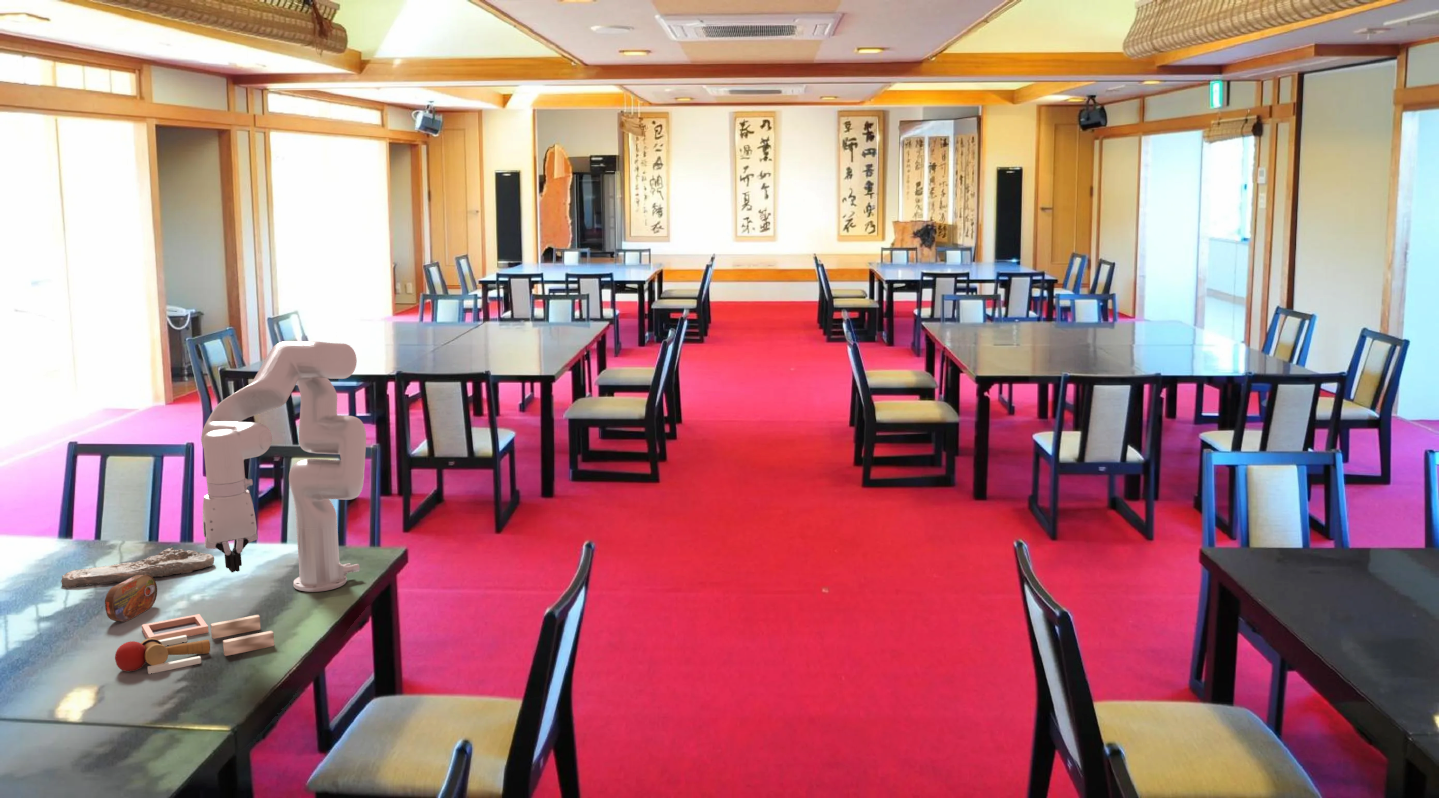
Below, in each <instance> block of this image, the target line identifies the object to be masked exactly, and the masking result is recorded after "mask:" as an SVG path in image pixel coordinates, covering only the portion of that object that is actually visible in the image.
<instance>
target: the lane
mask: <svg viewBox="0 0 1439 798" xmlns="http://www.w3.org/2000/svg"><path fill="white" fill-rule="evenodd" d="M260 617H261V616H260V615H259V614H254V615H249V616H245V617H239V618H234V619H229V620H228V619H227V620H223V621H219V622H213V623H210V632H211V634H210V635H211V638H212V640H215V639H220V638H223V637H229V636H230V637H231V636H235V635H238V634H240V635H241V634H245V633H250V632H254V631H255V632H256V631H260V630H262V629H261V628H262V627H261V618H260ZM274 637H275V636H274V631H273V630H267V631H263V632H259V633H258V632H257V633H252V634H247V635H242V636H238V637H234V638H233V637H232V638H228V639H224V640H222V648H223V655H224V656H225V657H228V656H231V655H239V654H242V653H246V652H251V651H256V650H261V649H265V648H271V647H275V638H274Z"/></svg>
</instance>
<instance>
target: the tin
mask: <svg viewBox="0 0 1439 798" xmlns="http://www.w3.org/2000/svg"><path fill="white" fill-rule="evenodd" d="M157 596H158V586H157V582H156V580H155V577H152V576H150V575H136V576H134V577H132V578H130V579H128V580H126V581H124V582H119V583H118V584H115V585H114V586H112V587H111V588H110V589H109V590H108V591H107V594H106V595H105V599H104V608H105V611H106V612H105V613H106V615H107V617H108V618H109V620H111V621H115V622H122V623H125V622H128V621H130V620H133V618H136V617H137V616H139V615H141V614H143V613H145V612H146V611H148V610H150V609H151V608H152V607H153V606H154V604H155V602H156V600H157Z"/></svg>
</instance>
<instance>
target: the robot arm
mask: <svg viewBox="0 0 1439 798" xmlns="http://www.w3.org/2000/svg"><path fill="white" fill-rule="evenodd" d="M356 367H357V354H356V352H355V349H354V348H353V347H352V346H351V345H349V344H348V343H341V342H340V343H337V342H335V343H334V342H323V341H309V340H306V341H303V340H285V341H280V342H278V343H276V344H275V345H273V347H271V349H270V351H269V353H268V354H267V356H266V358H265V359H264V361H263V362H262V364H261V366H260V368H259V369H258V371H257V373H256V374H255V376H254V378H253V380H252V381H251V383H249V384H248V385H246V386H244V387H242V388H240V389H238V390H236V392H233V393H232V394H230V395H229V396H227V397H226V398H224V399H223V400H221V401H220V402H219V403H218V404H217V405H216V406H215V407H214V408H213V410H212V411H211V413H210V415H209V417H208V418H207V420H206V422H205V424H204V427H203V429H202V432H201V438H200V440H201V446H202V447H203V453H204V455H203V457H204V467H205V468H204V469H205V477H206V478H205V479H206V486H207V487H206V488H207V489H206V490H207V494H205V495H203V502H202V531H203V536H204V544H203V546H204V547H205V548H206V549H207V550H208V549H209V550H211V549H212V550H213V549H215V550H218V551H220V552H221V553H223V554H224V563H225V568H226V569H228V570H229V571H230V572H231V573H235V572H238V573H239V572H240V570H241V569H240V567H241V566H242V565H243V564H242V553H243V550H244V549H245V547H246V546H248V544H250V543H252V542H254V541H257V540H258V539H259V536H258V534H257V532H258V531H257V530H258V528H257V520H256V514H255V509H254V504H253V503H254V502H253V499H252V496H251V493H250V490H248V487H250V486H253V485H254V484H253V483H254V482H253V479H252V478H246V475H245V462H244V461H245V460H248V459H251V458H256V457H260V456H262V455H264V454H265V453H266V452H267V451H268V450H269V449H270V447H271V446H272V441H273V435H272V432H271V430H270V428H269V427H268V426H267V425H265V424H264V423H261V422H254V421H244V420H247V419H248V418H250V417H251V418H252V417H254V416H257V415H262V414H266V413H268V412H271V411H273V410H276V409H278V408H280V407H283V406H284V405H285V404H286V403H287V401H288V400H289V397H290V396H291V394H292V393H293V391H294V389H295V387H296V385H297V387H298V390H299V393H300V411H299V422H298V423H299V426H298V443H299V446H300V448H301V450H303V451H304V452H307V453H310V454H321V455H322V454H323V455H324V454H325V455H339V456H340V460H339V459H327V458H326V459H325V458H323V459H322V458H307V459H301V460H299V461H296V462H295V463H294V464H293V465H292V467H291V468H290V470H289V473H288V483H289V487H290V491H291V495H292V499H293V504H294V510H295V511H294V513H295V523H296V524H295V525H296V542H297V556H298V569H299V570H298V572H299V576H298V577H296V578H294V580H293V582H292V584H293V585H292V586H293V587H294V589H296V590H298V591H300V592H301V591H302V592H307V593H314V592H315V593H316V592H327V591H331V590H335V589H338V588H341V587H342V586H344V585H346V583H347V581H348V578H347V575H348V574H349V573H356V572H357V573H358V572H360V564H359V563H355V564H352V563H350V562H348V563H344V564H342V563H341V562H340V551H339V548H340V547H339V533H338V532H339V531H338V515H337V512H336V509H335V507H334V505H333V502H331V501H330V500H347V501H349V500H354V499H356V498H357V497H359V496H360V495H361V493H362V491H363V488H364V487H363V486H364V480H365V467H366V466H365V465H366V448H367V431H366V428H365V425H364V422H363V421H362V420H361V419H360V418H358V417H357V416H353V415H343V414H342V415H341V414H339V415H338V394H337V391H336V389H335V388H336V387H334V385H333V383H332V382H331V381H330V380H329V379H331V380H333V379H334V380H335V379H336V380H337V379H338V380H339V379H341V380H343V379H344V380H345V379H347V378H349V377H351V376H352V374H353V373H354V372H355V370H356ZM231 541H233V548H232V550H231V547H230V543H229V542H231Z"/></svg>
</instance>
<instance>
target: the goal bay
mask: <svg viewBox="0 0 1439 798" xmlns="http://www.w3.org/2000/svg"><path fill="white" fill-rule="evenodd" d="M159 641H160V642H161V643H162V645H164V646H165V647H168V646H167V645H169V646H173V645H178V644H183V643H182V642H184V643H188V637H187V636H186V635H182V636H177V637H172V638H167V639H162V640H159ZM198 664H199V665H200V664H202V658H201V655H198V656H197V655H196V656H192V657H188V658H182V659H178V660H174V661H173V660H172V661H166V662H164V663H162V664H157V665H153V666H152V665H148V666H146V667H147V673H148V675H150V674H151V673H152V674H156V673H161V672H165V671H170V670H175V669H180V668H184V667H185V668H186V667H189V666H193V665H198Z"/></svg>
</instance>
